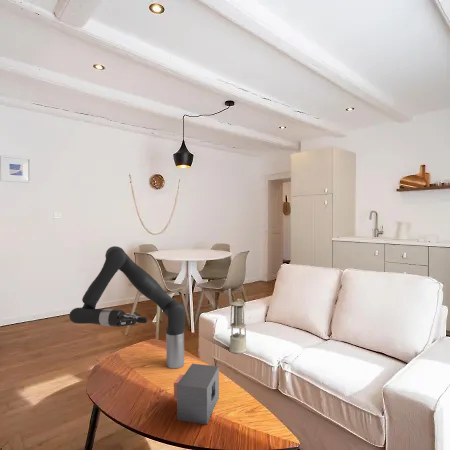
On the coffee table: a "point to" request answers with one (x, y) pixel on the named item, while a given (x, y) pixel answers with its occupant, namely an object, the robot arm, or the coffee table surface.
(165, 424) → the coffee table surface
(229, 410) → the coffee table surface
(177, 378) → the plug
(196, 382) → the block
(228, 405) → the coffee table surface
